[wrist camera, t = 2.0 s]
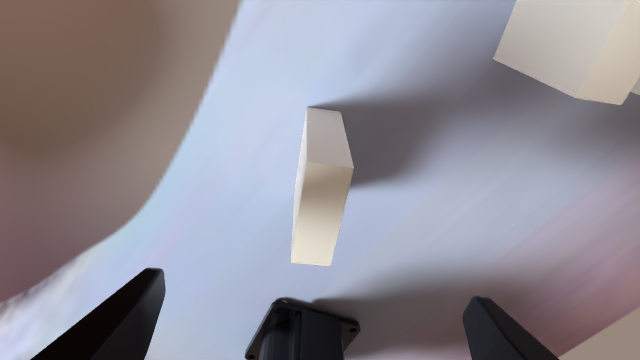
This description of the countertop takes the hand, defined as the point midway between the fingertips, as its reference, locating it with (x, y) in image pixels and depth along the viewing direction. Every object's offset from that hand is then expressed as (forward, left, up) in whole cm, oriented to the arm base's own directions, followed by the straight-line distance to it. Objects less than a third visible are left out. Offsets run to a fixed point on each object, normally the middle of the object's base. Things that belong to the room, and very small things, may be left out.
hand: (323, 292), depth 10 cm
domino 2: (+10, -5, -9) cm, 14 cm away
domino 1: (0, 0, -9) cm, 9 cm away
